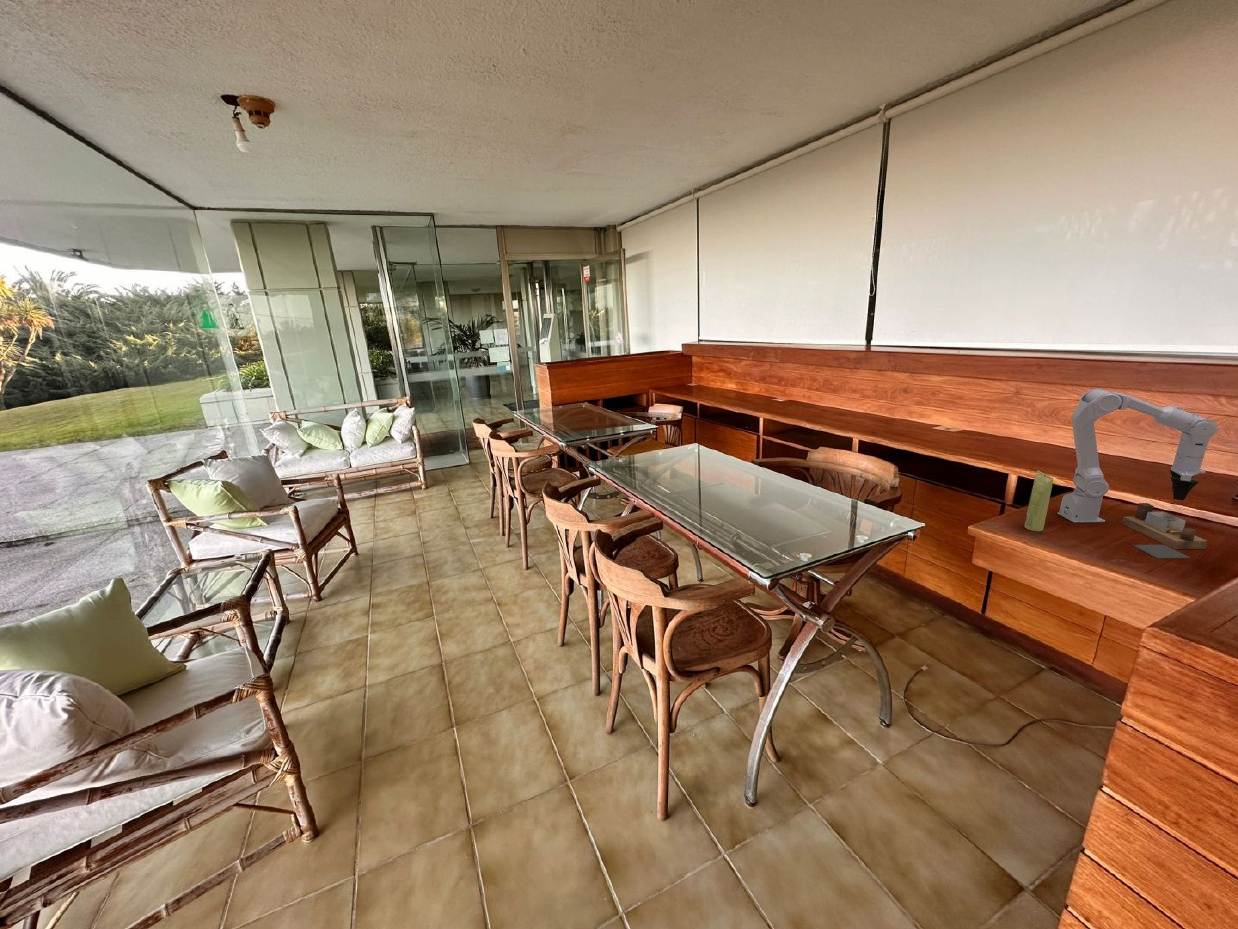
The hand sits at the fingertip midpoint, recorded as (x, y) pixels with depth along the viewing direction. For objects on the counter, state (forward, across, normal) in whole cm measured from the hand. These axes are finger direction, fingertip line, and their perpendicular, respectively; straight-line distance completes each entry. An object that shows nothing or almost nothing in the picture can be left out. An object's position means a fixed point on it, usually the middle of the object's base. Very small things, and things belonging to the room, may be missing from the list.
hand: (1177, 495), depth 154 cm
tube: (+10, -27, +31) cm, 42 cm away
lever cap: (+7, -12, +2) cm, 14 cm away
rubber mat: (+10, -26, +2) cm, 28 cm away
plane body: (+10, -12, +2) cm, 16 cm away
